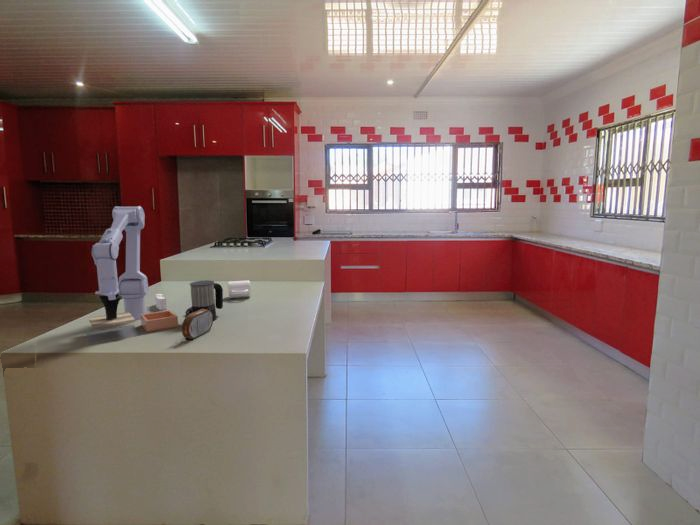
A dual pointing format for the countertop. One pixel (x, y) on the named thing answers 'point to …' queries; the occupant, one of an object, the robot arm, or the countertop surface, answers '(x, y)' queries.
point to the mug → (239, 289)
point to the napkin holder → (160, 302)
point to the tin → (197, 323)
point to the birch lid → (111, 320)
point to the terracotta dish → (159, 321)
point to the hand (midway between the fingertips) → (111, 316)
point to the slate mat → (112, 334)
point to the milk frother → (205, 297)
